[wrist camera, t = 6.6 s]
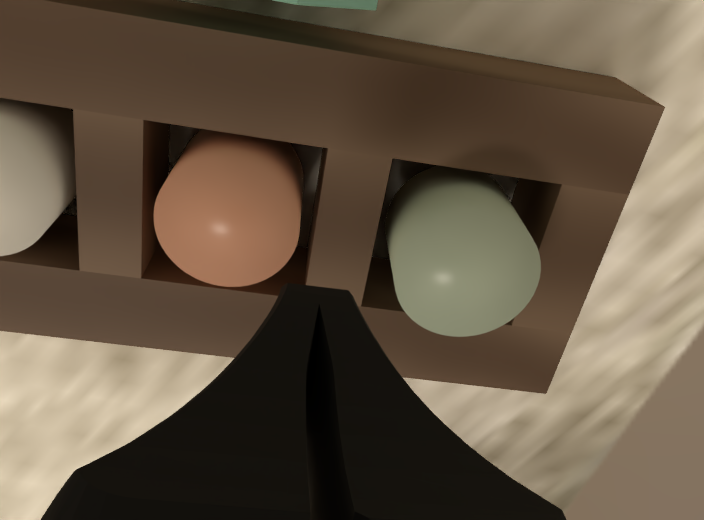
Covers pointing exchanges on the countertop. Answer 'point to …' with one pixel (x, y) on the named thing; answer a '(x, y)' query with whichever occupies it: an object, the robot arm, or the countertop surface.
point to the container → (336, 3)
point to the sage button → (459, 252)
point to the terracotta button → (231, 208)
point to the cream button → (33, 170)
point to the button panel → (333, 181)
